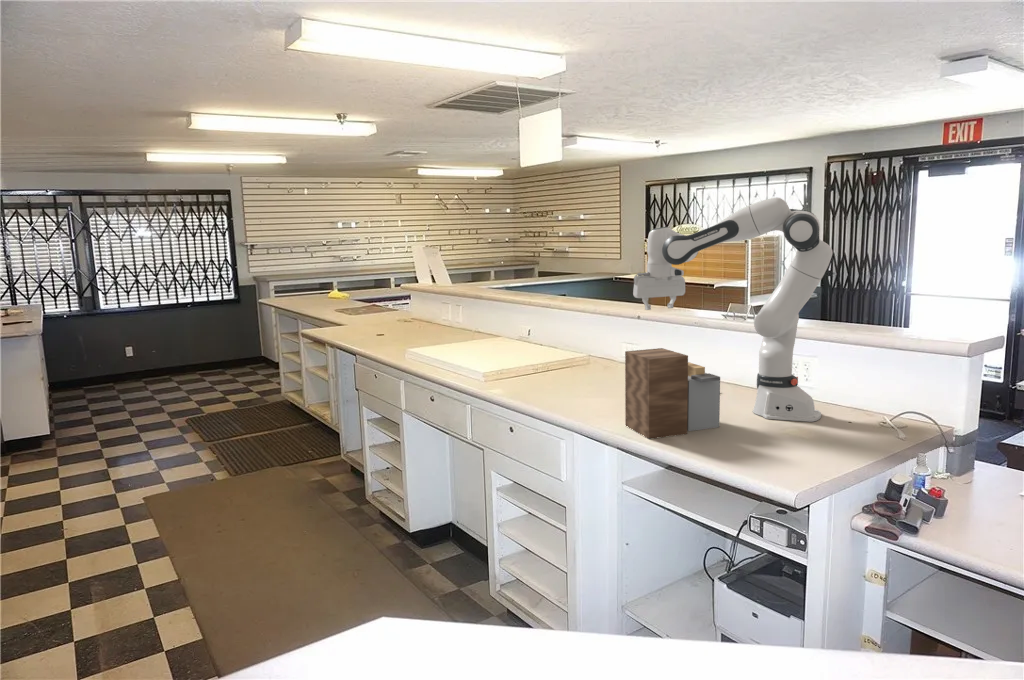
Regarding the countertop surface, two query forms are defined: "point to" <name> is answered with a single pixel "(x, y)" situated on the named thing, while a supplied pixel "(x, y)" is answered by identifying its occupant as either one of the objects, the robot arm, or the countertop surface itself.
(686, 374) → the pedestal
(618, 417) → the countertop surface
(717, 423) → the step
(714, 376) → the wooden bar
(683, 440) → the countertop surface
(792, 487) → the countertop surface
